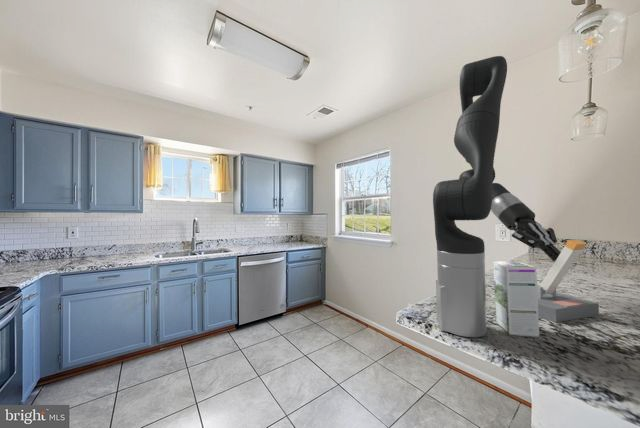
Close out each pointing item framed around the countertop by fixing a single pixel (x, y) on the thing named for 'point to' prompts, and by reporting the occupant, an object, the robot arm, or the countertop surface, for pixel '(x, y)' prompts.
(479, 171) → the robot arm
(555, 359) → the countertop surface
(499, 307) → the syrup box
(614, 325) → the countertop surface
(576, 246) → the breaker handle
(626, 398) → the countertop surface
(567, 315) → the base
